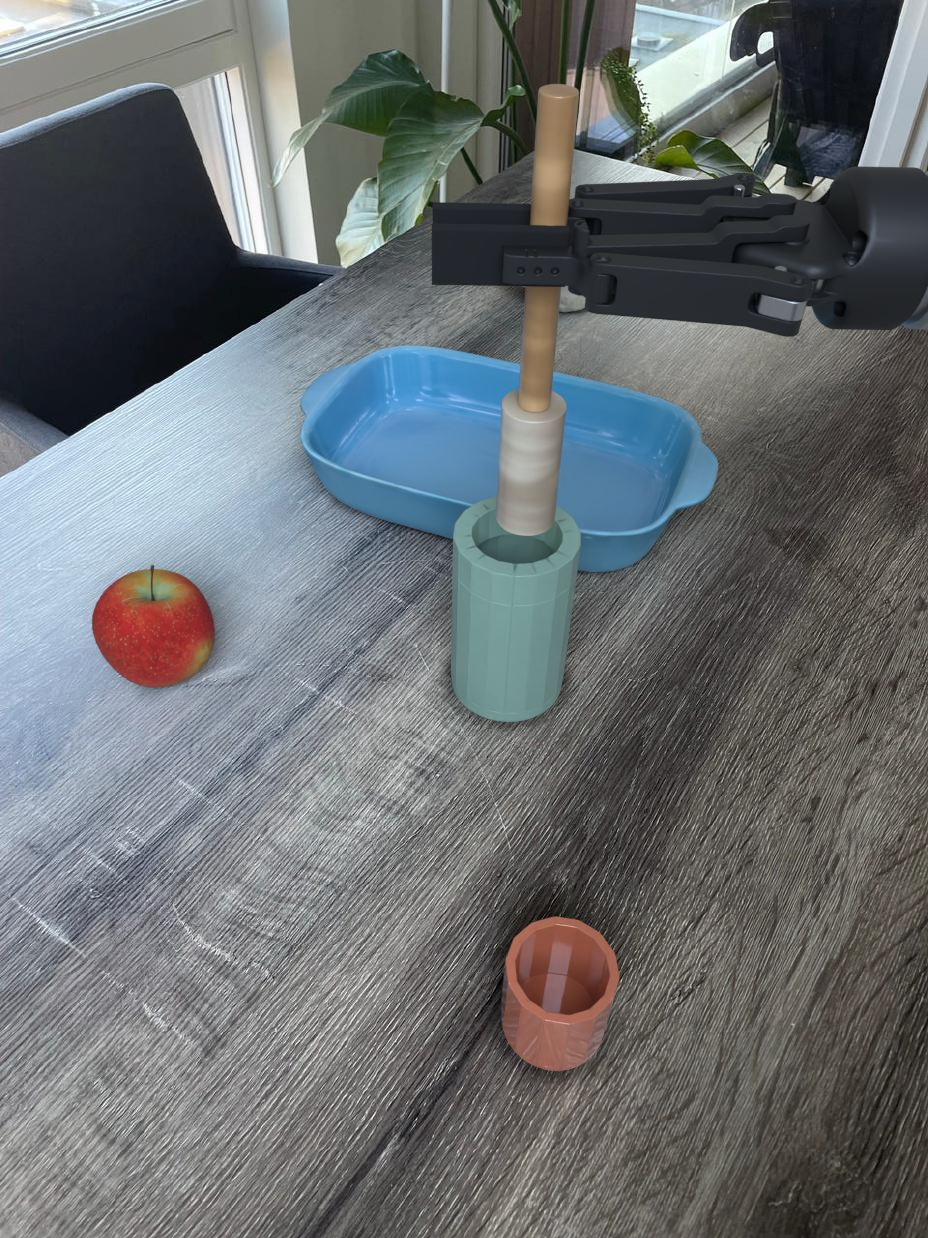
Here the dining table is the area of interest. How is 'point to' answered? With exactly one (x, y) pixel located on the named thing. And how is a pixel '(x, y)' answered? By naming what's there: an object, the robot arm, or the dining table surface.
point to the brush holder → (558, 992)
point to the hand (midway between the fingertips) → (433, 243)
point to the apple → (154, 627)
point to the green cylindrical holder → (511, 613)
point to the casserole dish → (469, 448)
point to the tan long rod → (539, 341)
